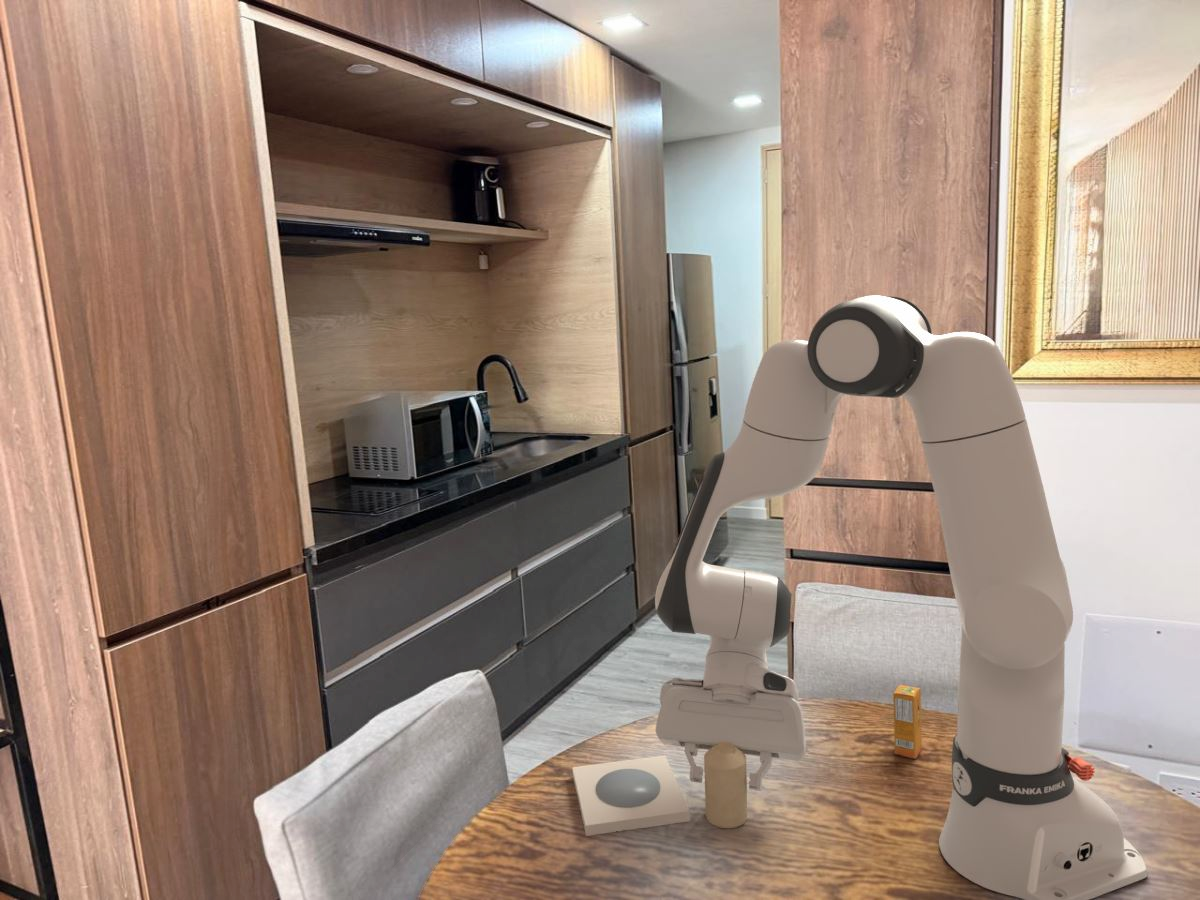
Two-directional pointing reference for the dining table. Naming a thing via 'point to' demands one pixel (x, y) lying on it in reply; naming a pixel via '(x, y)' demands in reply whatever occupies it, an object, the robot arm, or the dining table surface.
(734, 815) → the candle
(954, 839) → the robot arm
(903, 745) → the supplement box
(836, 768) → the dining table surface
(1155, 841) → the dining table surface
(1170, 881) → the dining table surface
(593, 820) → the base board
